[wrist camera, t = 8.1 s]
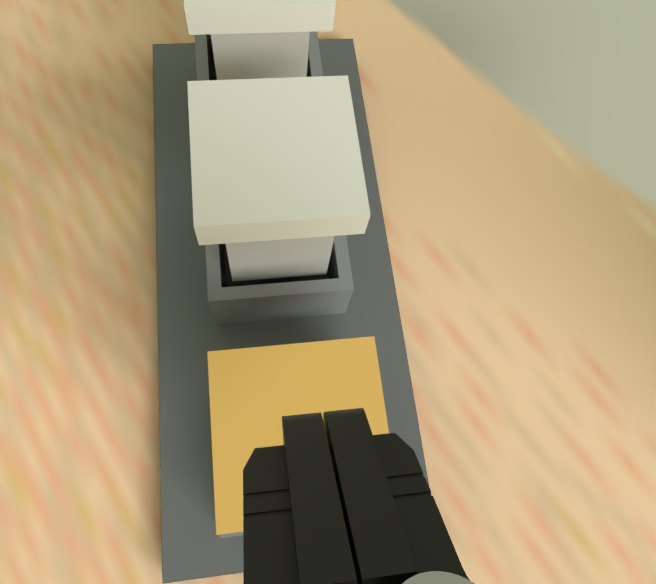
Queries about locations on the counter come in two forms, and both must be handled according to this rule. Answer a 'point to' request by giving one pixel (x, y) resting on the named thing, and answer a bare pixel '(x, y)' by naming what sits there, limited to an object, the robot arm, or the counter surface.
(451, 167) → the counter surface
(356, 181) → the middle key
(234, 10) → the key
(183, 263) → the keypad
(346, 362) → the amber key
